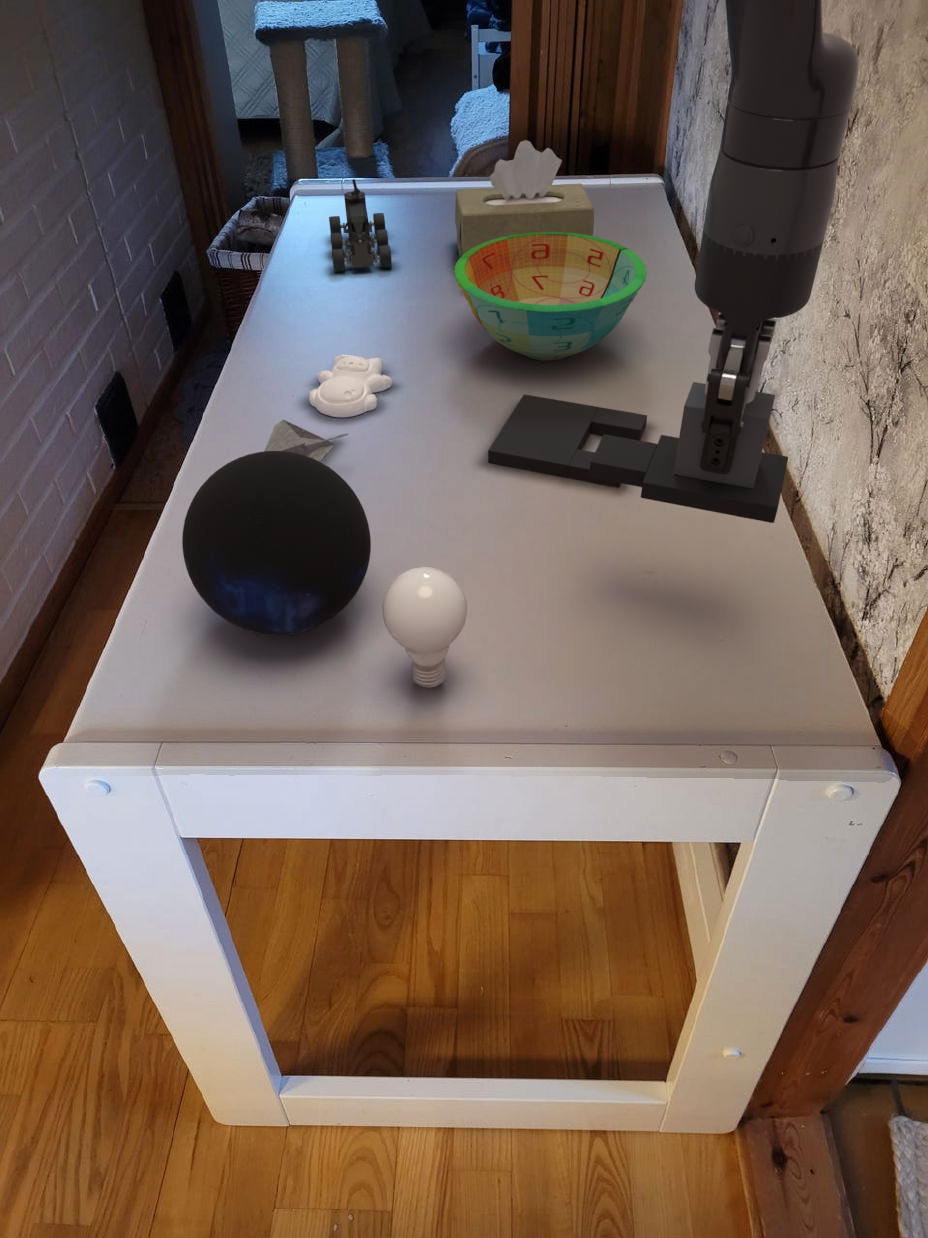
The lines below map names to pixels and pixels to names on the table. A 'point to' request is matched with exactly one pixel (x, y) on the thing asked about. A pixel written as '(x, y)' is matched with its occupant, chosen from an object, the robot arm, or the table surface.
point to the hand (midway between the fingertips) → (719, 454)
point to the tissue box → (522, 201)
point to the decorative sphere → (276, 542)
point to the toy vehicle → (359, 235)
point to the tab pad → (682, 489)
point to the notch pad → (559, 436)
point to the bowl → (549, 290)
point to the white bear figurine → (349, 386)
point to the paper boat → (298, 441)
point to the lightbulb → (425, 619)
